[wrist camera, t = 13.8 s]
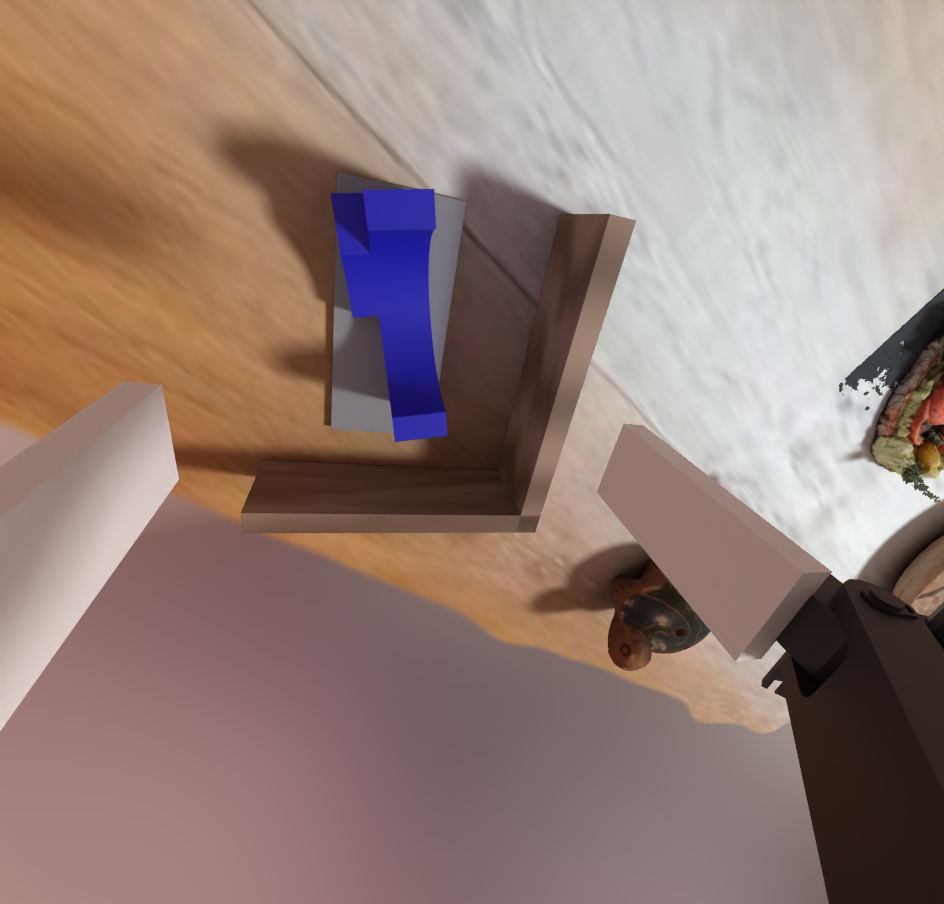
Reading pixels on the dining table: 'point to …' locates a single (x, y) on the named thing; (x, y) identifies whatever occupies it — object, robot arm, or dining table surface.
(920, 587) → the ceramic bowl
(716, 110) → the dining table surface
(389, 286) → the blue curved block
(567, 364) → the corner walls
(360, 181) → the grey mat
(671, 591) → the decorative turtle
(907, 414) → the plated dish
